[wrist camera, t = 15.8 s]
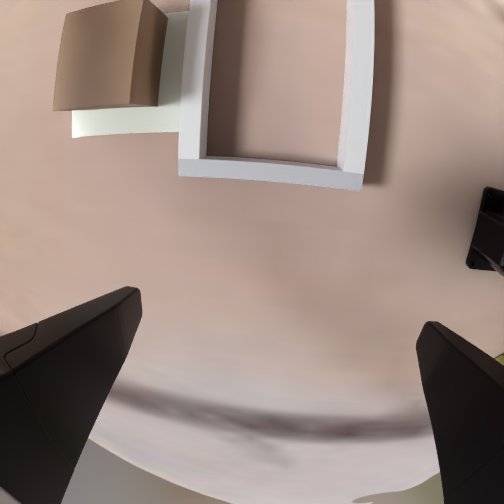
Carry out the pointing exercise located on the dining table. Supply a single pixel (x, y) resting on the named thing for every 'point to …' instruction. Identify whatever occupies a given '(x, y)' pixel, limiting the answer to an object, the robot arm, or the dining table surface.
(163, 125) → the coaster
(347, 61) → the channel
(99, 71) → the block
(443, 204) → the dining table surface
